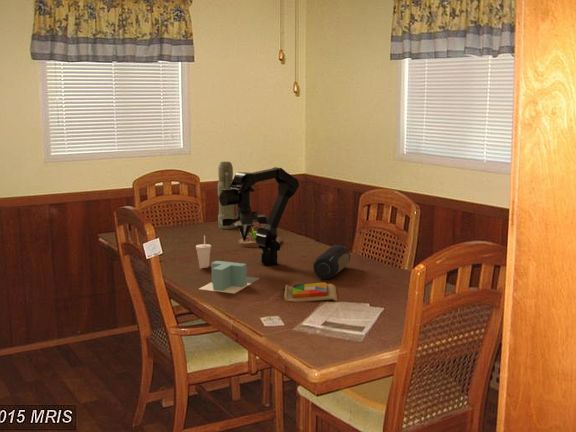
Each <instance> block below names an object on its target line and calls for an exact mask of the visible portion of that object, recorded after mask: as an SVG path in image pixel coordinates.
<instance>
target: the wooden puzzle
mask: <svg viewBox="0 0 576 432" xmlns="http://www.w3.org/2000/svg"><path fill="white" fill-rule="evenodd" d="M284 286H285V288H284V294H283V295H284V297H283V298H284V300H285V302H287V301H294V302H295V303H296V302H297V303H298V302H303V303H304V302H315V301H316V302H317V301H326V300H327V301H329V300H333V301H335V302H338V295H337V288H336V286H335V284H332V283H327V282H314V283H312V282H311V283H301V284H293V286H290V285H288V284H285V285H284ZM294 302H293V303H294Z"/></svg>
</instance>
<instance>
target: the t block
mask: <svg viewBox="0 0 576 432" xmlns="http://www.w3.org/2000/svg"><path fill="white" fill-rule="evenodd" d="M210 265H211V268H210V269H211V270H210V271H211V282H212V284H213V290H221V291H223V290H225V289H227V288H229V287H230V286H237V287H243V286H245V285H247V277H248V267H247V266H248V265H247V263H242V262H232V261H224V260H223V261H222V260H221V261H220V260H215V261H212V262H210Z"/></svg>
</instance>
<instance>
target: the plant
mask: <svg viewBox="0 0 576 432" xmlns="http://www.w3.org/2000/svg"><path fill="white" fill-rule="evenodd" d="M259 227H261V224H260V223H259V222H258V226H255V225H254V226H253V227H252V228H251V232H249V235H247V237H246V240H245V241H243V239H242V238H240V239H238V240H237V243H238V244H237V245H238V247H241V248H255V249H256V248H257V249H259V247H258V244H257V243H256V234H257V232H258V229H259ZM255 229H256V230H255ZM276 241H277V242H278V243H279V244H280V245H281V242H282V238H281V237H279V236H277V239H276Z"/></svg>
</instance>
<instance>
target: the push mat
mask: <svg viewBox="0 0 576 432" xmlns="http://www.w3.org/2000/svg"><path fill="white" fill-rule="evenodd" d="M260 279H261V278H260V277H252V276H247V285H245V286H243V287H237V286H230V287H229V288H227V289H225V290H223V291H221V290H213V284H212V281H211V282H209V283H207V284H205V285H204V286H201V287H200V288H198V290H202V291H211V292H220V293H229V294H236V293H238V292H240V291H241V290H243V289H245V288H246V287H248V286H250V285H252V284H254V283H255V282H257V281H259V280H260Z"/></svg>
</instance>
